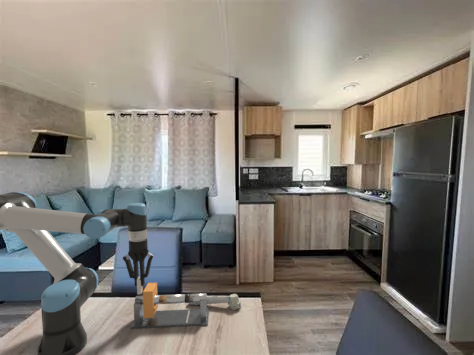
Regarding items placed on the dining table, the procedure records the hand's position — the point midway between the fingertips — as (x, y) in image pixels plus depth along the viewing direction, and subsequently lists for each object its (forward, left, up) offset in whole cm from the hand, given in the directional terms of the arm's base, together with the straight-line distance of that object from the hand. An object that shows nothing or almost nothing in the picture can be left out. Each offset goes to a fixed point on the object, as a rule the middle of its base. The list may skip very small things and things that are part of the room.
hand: (140, 292), depth 110 cm
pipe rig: (+13, 0, -12) cm, 18 cm away
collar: (+4, 0, -9) cm, 10 cm away
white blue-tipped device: (+32, +9, -13) cm, 36 cm away
